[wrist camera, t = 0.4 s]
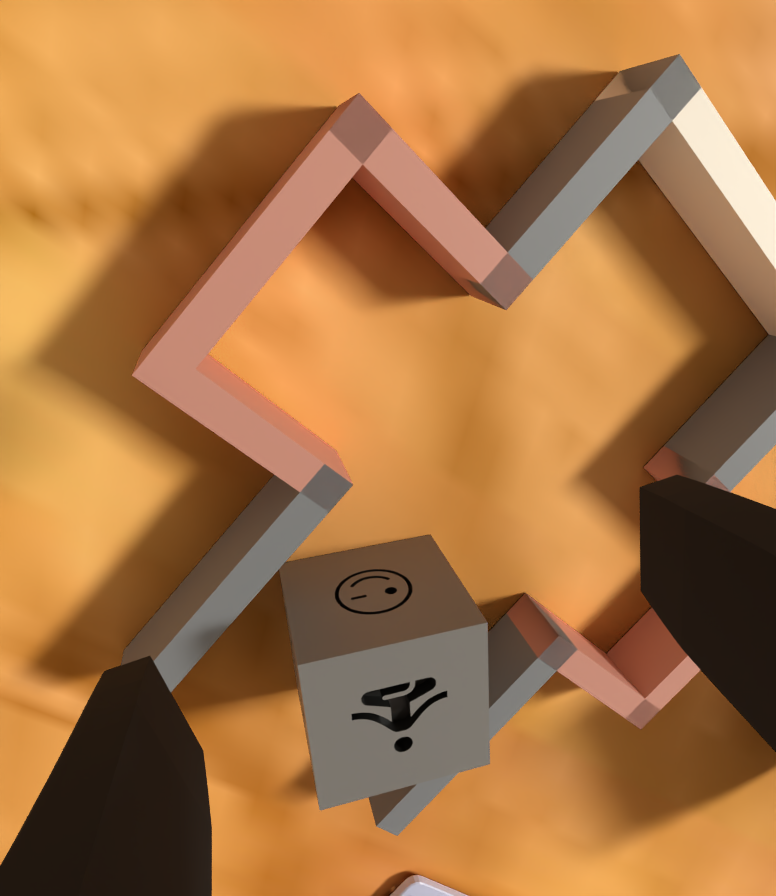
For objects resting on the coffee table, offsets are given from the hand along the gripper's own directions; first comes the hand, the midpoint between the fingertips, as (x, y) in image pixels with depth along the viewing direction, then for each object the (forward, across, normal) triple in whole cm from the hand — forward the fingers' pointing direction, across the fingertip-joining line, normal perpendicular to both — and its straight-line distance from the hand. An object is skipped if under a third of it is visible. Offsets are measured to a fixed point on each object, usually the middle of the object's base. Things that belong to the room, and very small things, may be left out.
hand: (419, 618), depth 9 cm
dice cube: (+10, 0, +9) cm, 13 cm away
